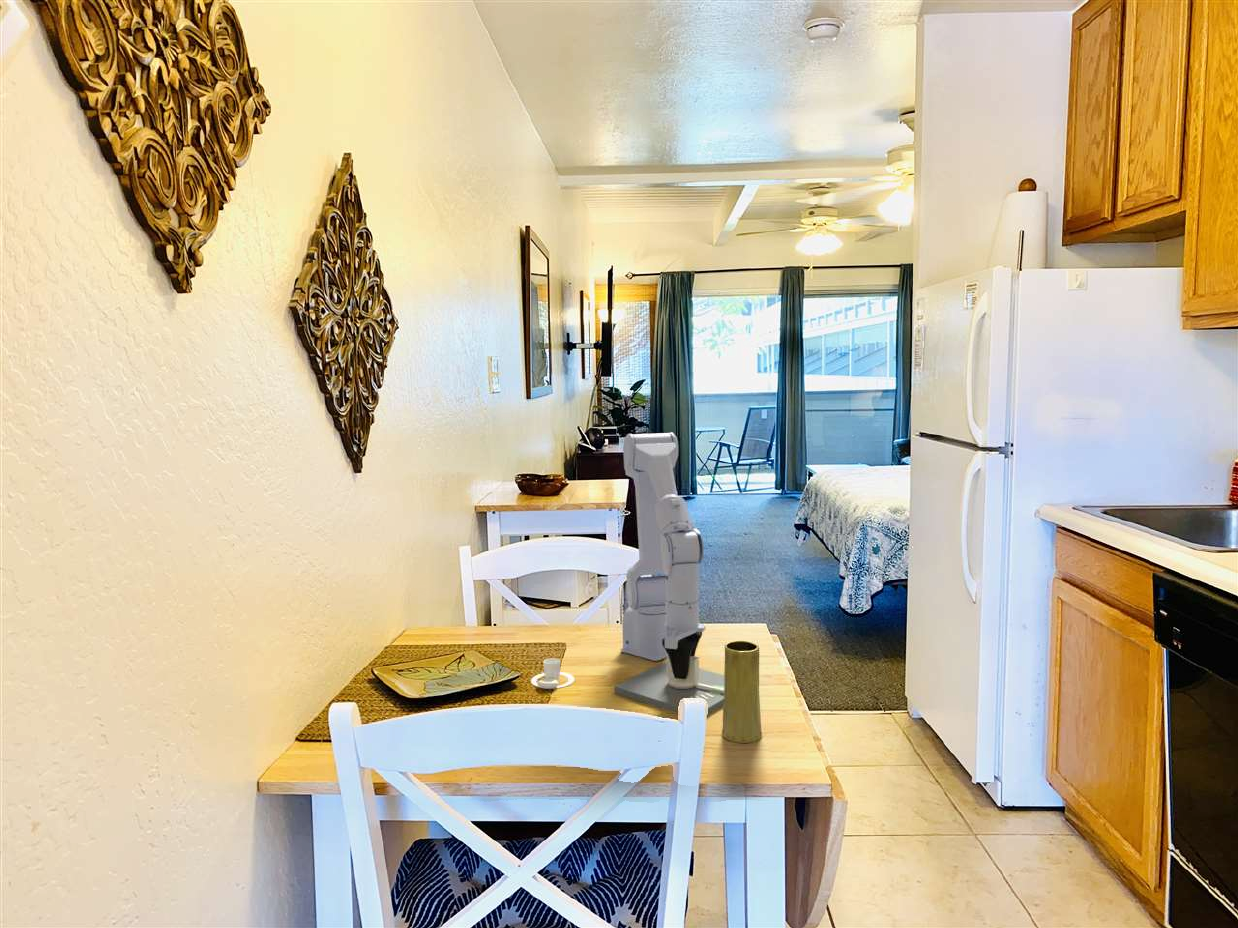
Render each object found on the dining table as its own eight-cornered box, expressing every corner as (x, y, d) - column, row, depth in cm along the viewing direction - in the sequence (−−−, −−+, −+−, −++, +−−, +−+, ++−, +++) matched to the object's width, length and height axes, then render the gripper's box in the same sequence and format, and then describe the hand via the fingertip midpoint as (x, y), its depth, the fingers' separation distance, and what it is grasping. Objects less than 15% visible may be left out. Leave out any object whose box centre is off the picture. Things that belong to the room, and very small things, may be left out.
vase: (752, 747, 119) (752, 655, 117) (715, 737, 122) (714, 648, 121) (767, 731, 124) (768, 643, 122) (731, 722, 127) (731, 636, 126)
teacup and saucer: (551, 696, 140) (550, 673, 140) (518, 686, 145) (518, 664, 144) (583, 680, 147) (582, 659, 146) (551, 671, 152) (550, 650, 151)
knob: (661, 685, 139) (661, 657, 139) (675, 675, 144) (674, 648, 143) (718, 697, 134) (718, 668, 133) (730, 687, 138) (730, 659, 137)
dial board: (614, 692, 140) (614, 685, 140) (669, 666, 152) (669, 659, 152) (698, 720, 128) (698, 712, 128) (750, 689, 140) (750, 682, 140)
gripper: (693, 614, 130) (693, 693, 132) (714, 590, 144) (714, 663, 145) (652, 610, 133) (653, 688, 134) (677, 587, 146) (677, 658, 148)
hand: (682, 675), depth 140 cm, fingers closed on knob, 2 cm apart
